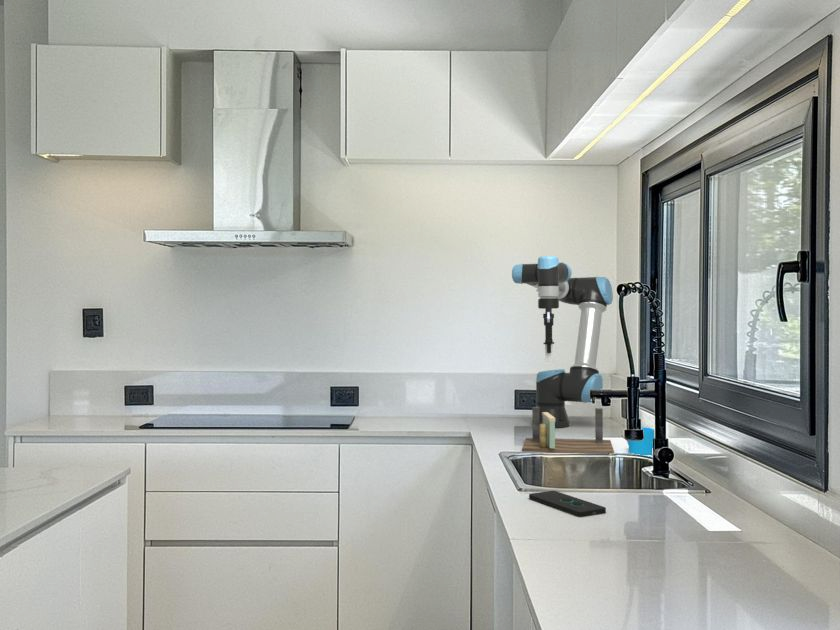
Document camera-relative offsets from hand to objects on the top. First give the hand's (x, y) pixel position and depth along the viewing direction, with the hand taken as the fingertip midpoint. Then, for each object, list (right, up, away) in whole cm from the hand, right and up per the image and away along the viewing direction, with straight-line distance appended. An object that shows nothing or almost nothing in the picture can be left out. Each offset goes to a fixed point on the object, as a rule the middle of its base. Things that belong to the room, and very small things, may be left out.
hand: (549, 361), depth 277 cm
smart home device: (-13, -29, -97) cm, 102 cm away
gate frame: (+4, -29, -16) cm, 33 cm away
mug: (+25, -29, -28) cm, 47 cm away
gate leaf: (-4, -27, -19) cm, 33 cm away
